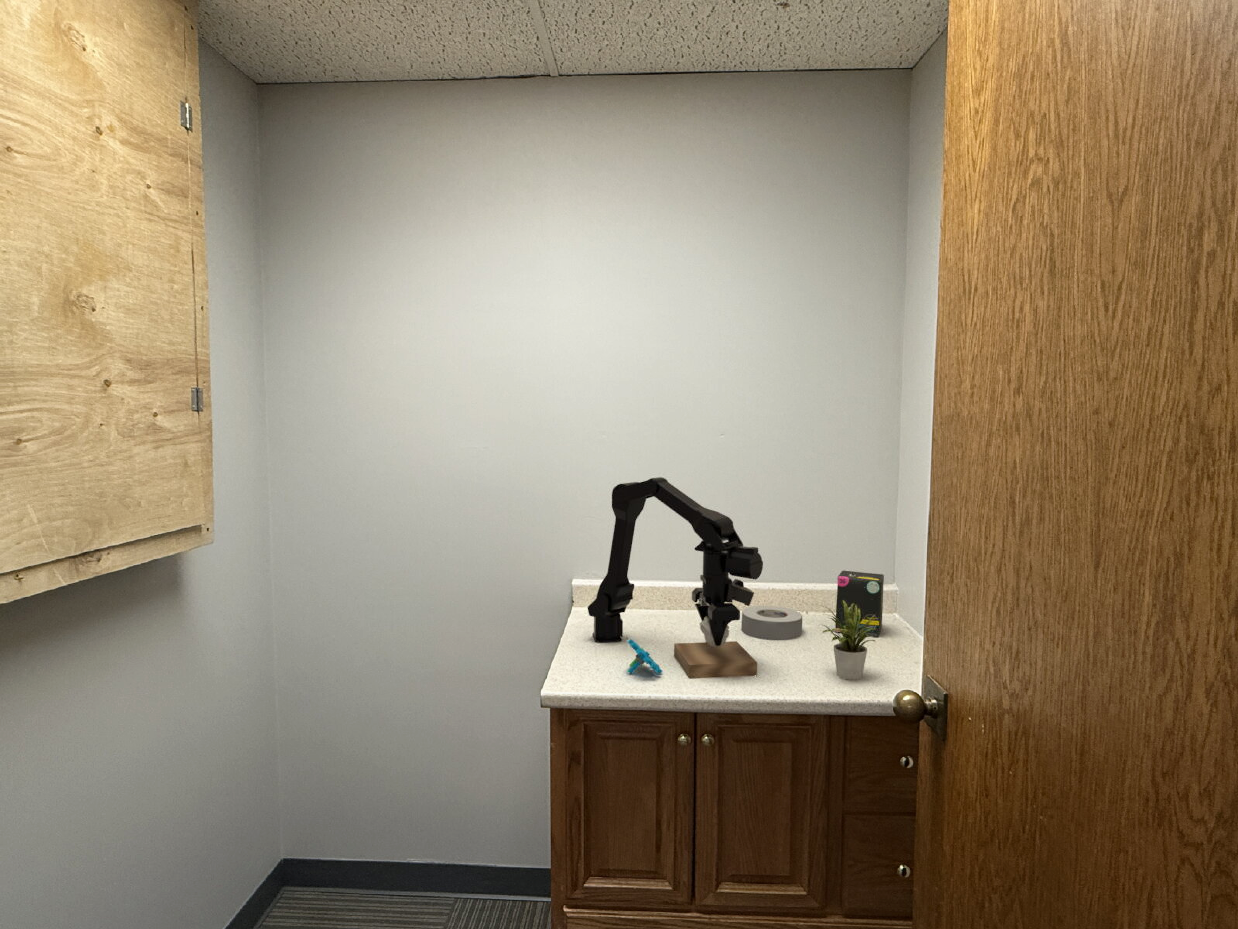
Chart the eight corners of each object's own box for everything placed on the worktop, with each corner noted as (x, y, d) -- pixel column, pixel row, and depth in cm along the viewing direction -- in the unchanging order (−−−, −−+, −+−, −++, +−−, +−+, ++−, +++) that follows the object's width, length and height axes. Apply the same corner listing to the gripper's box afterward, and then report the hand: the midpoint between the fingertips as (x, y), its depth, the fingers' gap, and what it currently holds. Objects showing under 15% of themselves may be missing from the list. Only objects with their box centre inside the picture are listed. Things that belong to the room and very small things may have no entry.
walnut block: (689, 680, 171) (689, 664, 171) (673, 658, 186) (674, 643, 186) (756, 677, 173) (757, 662, 173) (736, 655, 188) (736, 641, 188)
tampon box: (834, 632, 206) (836, 576, 205) (839, 623, 214) (841, 569, 213) (879, 638, 202) (881, 581, 201) (882, 628, 210) (884, 573, 209)
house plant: (804, 663, 181) (806, 592, 180) (864, 663, 182) (866, 592, 181) (823, 686, 167) (826, 609, 166) (888, 685, 168) (891, 608, 167)
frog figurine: (694, 644, 181) (695, 613, 180) (722, 641, 183) (723, 611, 183) (705, 652, 175) (705, 621, 175) (734, 649, 177) (735, 618, 177)
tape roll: (810, 630, 209) (810, 611, 208) (789, 645, 196) (789, 624, 196) (755, 621, 217) (755, 602, 217) (731, 634, 204) (732, 615, 204)
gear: (666, 674, 169) (633, 640, 169) (646, 694, 168) (613, 660, 168) (661, 664, 180) (630, 632, 180) (643, 683, 179) (611, 651, 180)
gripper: (764, 581, 170) (762, 653, 171) (738, 563, 188) (736, 628, 190) (713, 582, 168) (711, 655, 169) (691, 564, 187) (690, 629, 188)
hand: (713, 641), depth 179 cm, fingers closed on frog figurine, 6 cm apart
